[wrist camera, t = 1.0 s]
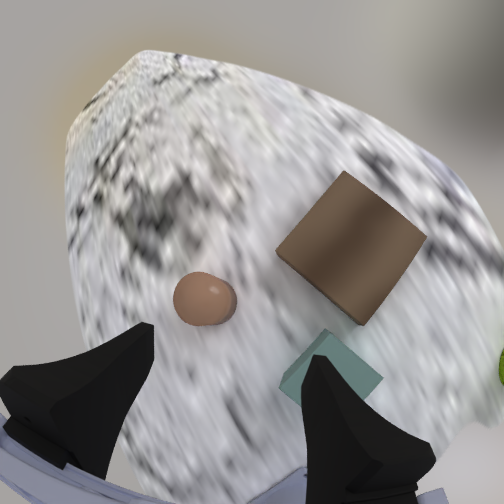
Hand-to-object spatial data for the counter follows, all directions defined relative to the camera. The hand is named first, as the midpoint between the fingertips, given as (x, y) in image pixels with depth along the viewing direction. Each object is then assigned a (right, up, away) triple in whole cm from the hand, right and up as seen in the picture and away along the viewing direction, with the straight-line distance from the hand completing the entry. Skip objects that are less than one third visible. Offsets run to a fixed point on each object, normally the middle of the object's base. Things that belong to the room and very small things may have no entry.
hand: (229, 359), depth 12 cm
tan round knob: (-2, 0, +12) cm, 13 cm away
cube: (+7, -5, +9) cm, 13 cm away
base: (+9, +5, +11) cm, 15 cm away
